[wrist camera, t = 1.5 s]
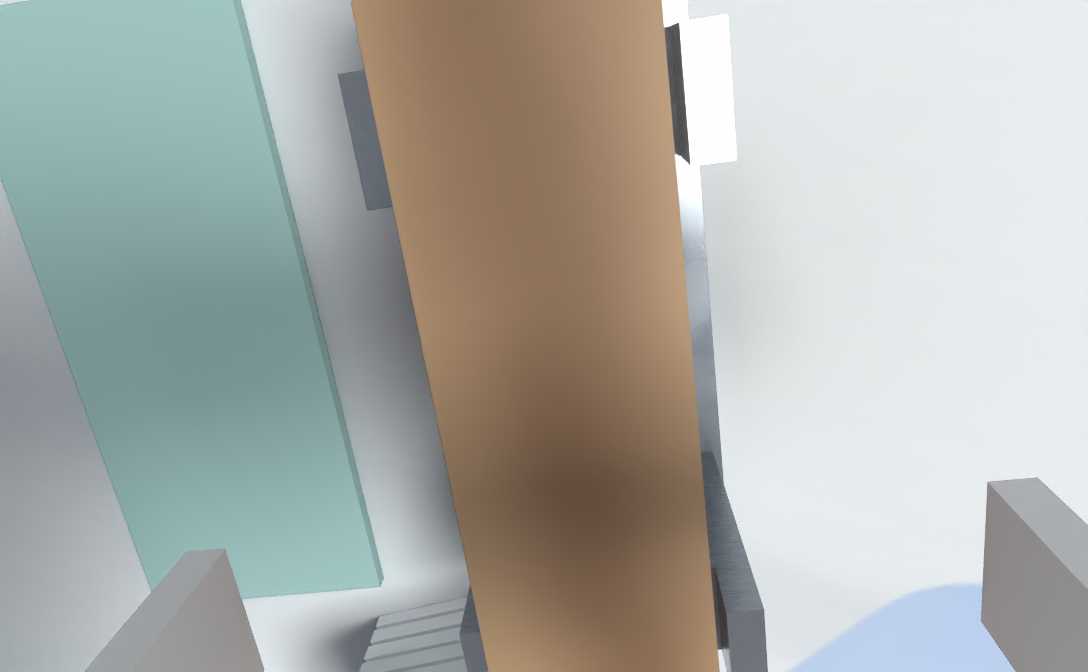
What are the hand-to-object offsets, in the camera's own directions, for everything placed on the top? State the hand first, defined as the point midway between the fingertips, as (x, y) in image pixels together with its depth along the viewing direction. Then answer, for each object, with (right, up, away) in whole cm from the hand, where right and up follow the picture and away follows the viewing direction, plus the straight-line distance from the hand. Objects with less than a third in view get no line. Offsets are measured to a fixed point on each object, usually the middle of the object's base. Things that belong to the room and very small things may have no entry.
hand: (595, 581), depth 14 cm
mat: (-14, +5, +16) cm, 22 cm away
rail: (0, +3, +8) cm, 8 cm away
